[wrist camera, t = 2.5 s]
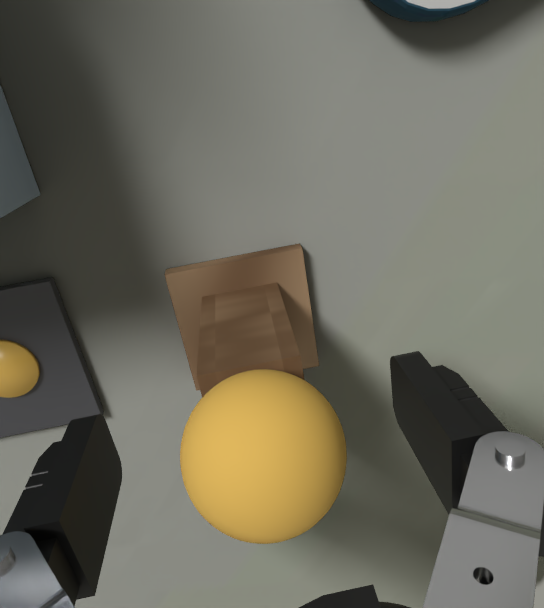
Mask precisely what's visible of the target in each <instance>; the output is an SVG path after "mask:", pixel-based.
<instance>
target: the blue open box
mask: <svg viewBox="0 0 544 608" xmlns="http://www.w3.org/2000/svg"><path fill="white" fill-rule="evenodd" d="M39 195H40V192H39V189H38V186H37V184H36V181H35V178H34V175H33V173H32V170H31V167H30V164H29V162H28V159H27V156H26V153H25V151H24V148H23V145H22V142H21V140H20V137H19V134H18V131H17V129H16V126H15V123H14V120H13V118H12V115H11V112H10V109H9V107H8V104H7V101H6V98H5V96H4V93H3V90H2V87H1V85H0V218H2V217H4V216H5V215H7V214H9V213H10V212H12V211H14V210H15V209H17V208H19V207H20V206H22V205H24V204H25V203H27V202H29V201H30V200H32V199H34V198H36V197H37V196H39Z"/></svg>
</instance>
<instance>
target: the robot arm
mask: <svg viewBox="0 0 544 608" xmlns="http://www.w3.org/2000/svg"><path fill="white" fill-rule="evenodd" d="M390 369H391V384H392V398H393V407H394V412H395V416H396V419H397V422H398V424H399V426H400V428H401V430H402V432H403V433H404V435H405V437H406V439H407V441H408V442H409V444H410V446H411V448H412V450H413V451H414V453H415V455H416V457H417V459H418V460H419V462H420V464H421V466H422V468H423V469H424V471H425V473H426V475H427V477H428V478H429V480H430V482H431V484H432V486H433V487H434V489H435V491H436V493H437V495H438V496H439V498H440V500H441V502H442V503H443V505H444V507H445V509H446V511H447V512H448V514H449V517H448V521H447V524H446V528H445V531H444V535H443V538H442V542H441V545H440V549H439V552H438V556H437V559H436V563H435V566H434V570H433V573H432V577H431V580H430V583H429V587H428V590H427V594H426V597H425V601H424V604H423V608H533V606H534V596H535V586H536V576H537V565H538V556H544V449H543V448H542V447H541V446H540V445H539V444H538V443H537V442H536V441H534V440H532V439H531V438H529V437H527V436H524V435H521V434H518V433H514V432H509V431H508V430H507V429H506V428H505V427H504V426H503V425H502V423H501V422H500V421H499V420H498V419H497V418H496V417H495V415H494V414H493V413H492V412H491V411H490V410H489V408H488V407H487V406H486V405H485V404H484V403H483V402H482V400H481V399H480V398H478V397H477V395H476V394H475V392H474V391H473V390H472V389H471V388H469V385H468V384H467V383H466V382H465V381H464V380H463V379H462V377H461V376H460V375H459V374H458V373H456V372H454V371H452V370H450V369H448V368H446V367H445V366H443V365H440V366H436V367H431V365H430V364H429V363H428V362H427V360H426V359H425V358H424V357H423V355H422V354H421V353H420V352H419V351H417V352H412V353H407V354H402V355H397V356H392V357H391V359H390ZM121 481H122V467H121V461H120V458H119V455H118V452H117V450H116V447H115V444H114V442H113V439H112V436H111V434H110V431H109V428H108V426H107V423H106V421H105V419H104V417H103V416H102V415H101V414H98V415H93V416H88V417H83V418H78V419H73V420H71V421H70V423H69V425H68V427H67V429H66V432H65V434H64V436H63V438H62V441H59V442H54V443H53V444H52V445H51V446H50V447H49V448H48V449H47V450H46V451H45V452H44V453H43V454H42V455H41V456H40V457H39V459H38V461H37V463H36V465H35V467H34V469H33V472H32V476H31V477H30V478H29V480H28V482H27V484H26V486H25V487H26V490H23V493H22V495H21V497H20V499H19V501H18V503H17V505H16V507H15V509H14V512H13V514H12V516H11V518H10V520H9V522H8V524H7V526H6V528H5V530H4V533H3V535H1V536H0V608H75V607H74V606H75V602H76V600H77V599H81V598H86V597H91V596H95V593H96V588H97V584H98V580H99V576H100V571H101V567H102V563H103V558H104V554H105V550H106V546H107V541H108V537H109V533H110V529H111V524H112V520H113V516H114V512H115V507H116V503H117V499H118V495H119V490H120V486H121ZM299 608H410V607H406V606H403V605H400V604H394V603H389V602H379V601H378V598H377V595H376V592H375V589H374V586H373V585H369V586H364V587H360V588H355V589H350V590H346V591H341V592H337V593H332V594H327V595H323V596H321V597H319V598H317V599H315V600H313V601H311V602H309V603H307V604H305V605H303V606H301V607H299Z"/></svg>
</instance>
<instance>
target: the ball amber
mask: <svg viewBox="0 0 544 608" xmlns="http://www.w3.org/2000/svg"><path fill="white" fill-rule="evenodd" d="M346 461H347V452H346V441H345V436H344V432H343V429H342V426H341V423H340V421H339V418H338V416H337V414H336V412H335V411H334V409H333V407H332V406H331V404H330V403H329V402H328V401H327V399H326V398H325V397H324V396H323V395H322V394H321V393H320V392H319V391H318V390H317V389H316V388H315V387H313V386H312V385H311V384H309V383H308V382H306V381H305V380H303V379H301V378H299V377H297V376H294V375H292V374H289V373H286V372H282V371H278V370H269V369H258V370H250V371H246V372H242V373H238V374H236V375H233V376H231V377H229V378H227V379H225V380H223V381H221V382H220V383H219V384H217V385H216V386H214V387H213V388H212V389H211V390H210V391H208V392H207V393H206V394H205V395H204V396H203V398H202V399H201V400H200V401H199V402H198V404H197V405H196V407H195V408H194V410H193V411H192V413H191V415H190V417H189V419H188V422H187V424H186V426H185V429H184V433H183V437H182V442H181V450H180V463H181V472H182V477H183V481H184V485H185V487H186V490H187V492H188V494H189V497H190V499H191V501H192V502H193V504H194V506H195V507H196V509H197V510H198V511H199V513H200V514H201V515H202V516H203V517H204V518H205V519H206V520H207V521H208V522H209V523H210V524H211V525H212V526H213V527H215V528H216V529H218V530H219V531H221V532H222V533H224V534H226V535H228V536H230V537H232V538H235V539H237V540H240V541H245V542H250V543H258V544H268V543H277V542H281V541H285V540H288V539H291V538H294V537H296V536H298V535H300V534H302V533H304V532H306V531H307V530H309V529H310V528H311V527H313V526H314V525H315V524H316V523H317V522H319V521H320V520H321V519H322V518H323V517H324V516H325V514H326V513H327V512H328V511H329V509H330V508H331V506H332V505H333V503H334V501H335V500H336V498H337V496H338V494H339V492H340V489H341V486H342V483H343V480H344V476H345V470H346Z"/></svg>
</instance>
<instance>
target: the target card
mask: <svg viewBox="0 0 544 608" xmlns="http://www.w3.org/2000/svg"><path fill="white" fill-rule="evenodd" d="M103 412H104V410H103V408H102V405H101V403H100V400H99V397H98V395H97V392H96V389H95V387H94V384H93V382H92V379H91V376H90V374H89V371H88V368H87V366H86V363H85V360H84V358H83V355H82V353H81V350H80V347H79V345H78V342H77V339H76V337H75V334H74V332H73V329H72V326H71V324H70V321H69V318H68V316H67V313H66V311H65V308H64V305H63V303H62V300H61V297H60V295H59V292H58V289H57V287H56V284H55V282H54V279H53V277H52V278H47V279H41V280H36V281H31V282H26V283H20V284H15V285H10V286H5V287H0V438H1V437H6V436H11V435H16V434H21V433H26V432H31V431H36V430H41V429H46V428H51V427H56V426H61V425H66V424H69V423H70V421H71V420H73V419H78V418H83V417H88V416H93V415H98V414H101V415H103Z"/></svg>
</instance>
